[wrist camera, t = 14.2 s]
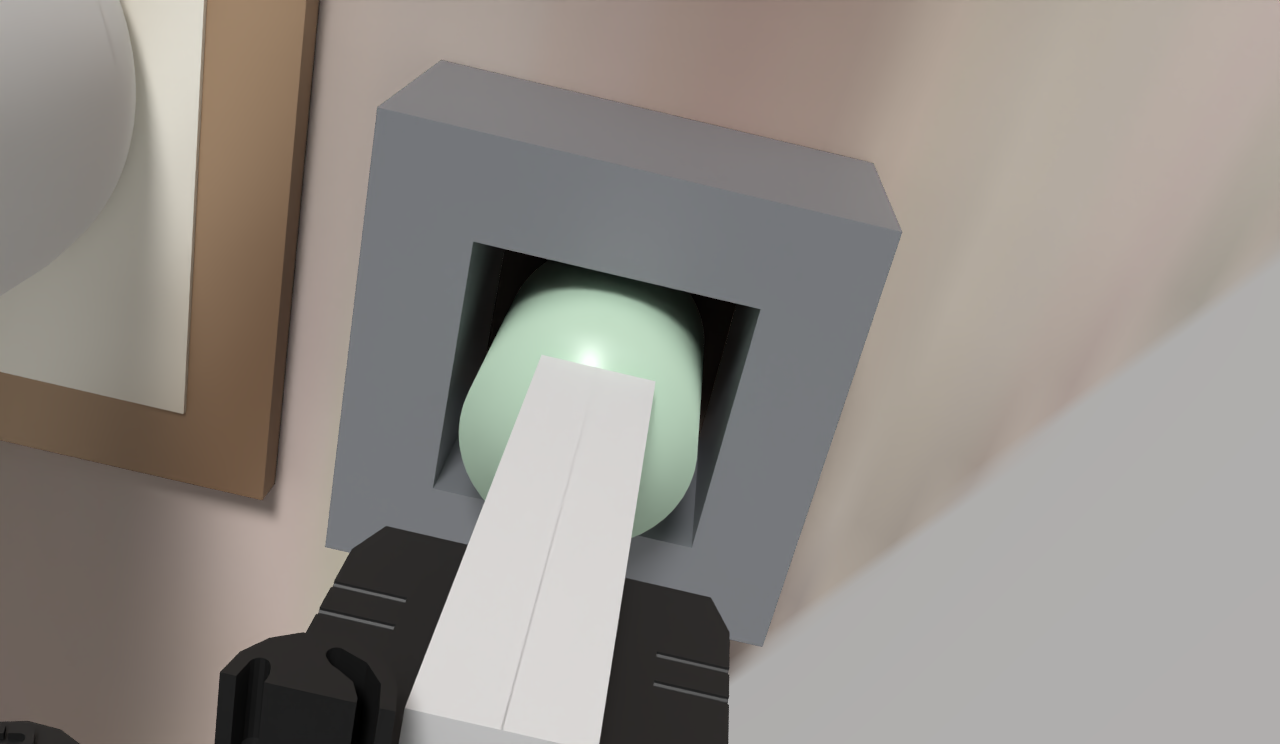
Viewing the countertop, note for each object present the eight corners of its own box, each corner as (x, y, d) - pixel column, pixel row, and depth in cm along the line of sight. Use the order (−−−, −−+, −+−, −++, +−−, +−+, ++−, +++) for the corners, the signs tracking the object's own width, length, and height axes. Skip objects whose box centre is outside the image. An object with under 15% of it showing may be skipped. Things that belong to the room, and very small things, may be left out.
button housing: (387, 439, 21) (325, 546, 18) (441, 60, 18) (377, 107, 15) (758, 525, 21) (762, 646, 18) (872, 163, 18) (902, 231, 15)
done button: (491, 404, 19) (442, 516, 16) (525, 225, 18) (479, 309, 14) (679, 447, 19) (667, 569, 16) (726, 272, 18) (724, 366, 14)
